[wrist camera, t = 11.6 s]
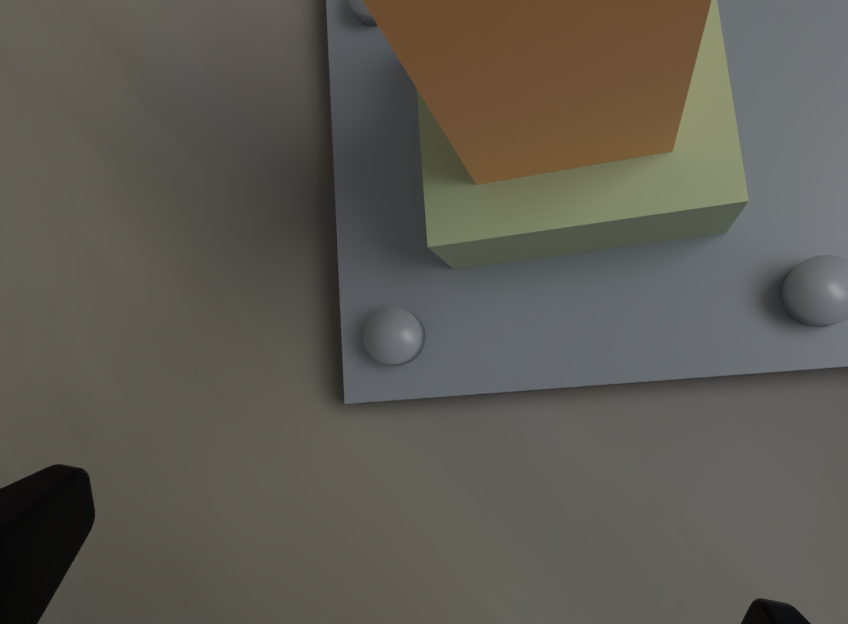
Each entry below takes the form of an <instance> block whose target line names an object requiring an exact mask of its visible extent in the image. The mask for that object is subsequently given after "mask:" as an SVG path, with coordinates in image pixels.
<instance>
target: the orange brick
mask: <svg viewBox="0 0 848 624" xmlns="http://www.w3.org/2000/svg"><path fill="white" fill-rule="evenodd" d="M362 1H363V2H364V4H365V5H366V7H367V9H368V10H369V12H370V13H371V15H372V17H373V18H374V20H375V22H376V23H377V25H378V26H379V28H380V30H381V31H382V33H383V35H384V36H385V38H386V39H387V41H388V43H389V44H390V46H391V47H392V49H393V51H394V52H395V54H396V56H397V57H398V59H399V60H400V62H401V64H402V65H403V67H404V69H405V70H406V72H407V73H408V75H409V77H410V78H411V80H412V81H413V83H414V85H415V86H416V88H417V90H418V91H419V93H420V94H421V96H422V98H423V99H424V101H425V103H426V104H427V106H428V107H429V109H430V111H431V112H432V114H433V115H434V117H435V119H436V120H437V122H438V124H439V125H440V127H441V128H442V130H443V132H444V133H445V135H446V137H447V138H448V140H449V141H450V143H451V145H452V146H453V148H454V149H455V151H456V153H457V154H458V156H459V158H460V159H461V161H462V162H463V164H464V166H465V167H466V169H467V171H468V172H469V174H470V175H471V177H472V179H473V180H474V182H475V183H476V185H479V184H485V183H490V182H496V181H502V180H508V179H514V178H520V177H525V176H531V175H537V174H543V173H549V172H555V171H561V170H566V169H572V168H578V167H584V166H590V165H596V164H601V163H607V162H613V161H619V160H625V159H631V158H636V157H642V156H648V155H654V154H660V153H666V152H671V151H673V149H674V145H675V141H676V137H677V133H678V129H679V125H680V121H681V118H682V114H683V110H684V106H685V102H686V98H687V94H688V90H689V86H690V82H691V79H692V75H693V71H694V67H695V63H696V59H697V55H698V51H699V47H700V43H701V40H702V36H703V32H704V28H705V24H706V20H707V16H708V12H709V8H710V4H711V0H362Z"/></svg>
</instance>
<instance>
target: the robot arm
mask: <svg viewBox="0 0 848 624" xmlns="http://www.w3.org/2000/svg"><path fill="white" fill-rule="evenodd" d="M94 519H95V508H94V502H93V496H92V490H91V484H90V479H89V475H88V473H87V472H86V471H85V470H84V469H82V468H78V467H72V466H67V465H62V464H56V465H52V466H49V467H47V468H45V469H43V470H40V471H38V472H36V473H34V474H32V475H30V476H27V477H25V478H23V479H21V480H19V481H16V482H14V483H12V484H10V485H8V486H5V487H3V488H1V489H0V624H37V623H38V622H39V620H40V618H41V617H42V615H43V613H44V611H45V610H46V608H47V606H48V604H49V603H50V601H51V599H52V597H53V596H54V594H55V592H56V590H57V589H58V587H59V585H60V583H61V582H62V580H63V578H64V576H65V575H66V573H67V571H68V569H69V568H70V566H71V564H72V562H73V561H74V559H75V557H76V555H77V554H78V552H79V550H80V548H81V547H82V545H83V543H84V541H85V540H86V538H87V536H88V534H89V533H90V531H91V529H92V526H93V523H94ZM741 624H811V623H810V622H809V621H808V620H807V619H806V618H805V617H804V616H803V615H802V614H801V613H800V612H799V611H798V610H797V609H795V608H794V607H793V606H791V605H790V604H787V603H783V602H778V601H773V600H768V599H762V598H759V599H756V600H754V601H753V602H752V603H751V605H750V607H749V609H748V611H747V612H746V614H745V616H744V618H743V620H742V622H741Z"/></svg>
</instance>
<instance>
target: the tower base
mask: <svg viewBox="0 0 848 624" xmlns="http://www.w3.org/2000/svg"><path fill="white" fill-rule="evenodd" d="M326 10H327V32H328V54H329V76H330V98H331V120H332V142H333V163H334V185H335V207H336V229H337V251H338V273H339V295H340V317H341V338H342V360H343V382H344V404H362V403H376V402H389V401H403V400H416V399H430V398H443V397H456V396H470V395H483V394H497V393H510V392H524V391H537V390H551V389H564V388H578V387H591V386H605V385H618V384H632V383H645V382H659V381H672V380H686V379H699V378H713V377H726V376H740V375H753V374H766V373H780V372H793V371H807V370H820V369H834V368H847V367H848V0H711V4H710V8H709V12H708V16H707V20H706V24H705V28H704V32H703V36H702V40H701V43H700V47H699V51H698V55H697V59H696V63H695V67H694V71H693V75H692V79H691V82H690V86H689V90H688V94H687V98H686V102H685V106H684V110H683V114H682V118H681V121H680V125H679V129H678V133H677V137H676V141H675V145H674V149H673V151H671V152H666V153H660V154H654V155H648V156H642V157H636V158H631V159H625V160H619V161H613V162H607V163H601V164H596V165H590V166H584V167H578V168H572V169H566V170H561V171H555V172H549V173H543V174H537V175H531V176H525V177H520V178H514V179H508V180H502V181H496V182H490V183H485V184H479V185H476V183H475V182H474V180H473V179H472V177H471V175H470V174H469V172H468V171H467V169H466V167H465V166H464V164H463V162H462V161H461V159H460V158H459V156H458V154H457V153H456V151H455V149H454V148H453V146H452V145H451V143H450V141H449V140H448V138H447V137H446V135H445V133H444V132H443V130H442V128H441V127H440V125H439V124H438V122H437V120H436V119H435V117H434V115H433V114H432V112H431V111H430V109H429V107H428V106H427V104H426V103H425V101H424V99H423V98H422V96H421V94H420V93H419V91H418V90H417V88H416V86H415V85H414V83H413V81H412V80H411V78H410V77H409V75H408V73H407V72H406V70H405V69H404V67H403V65H402V64H401V62H400V60H399V59H398V57H397V56H396V54H395V52H394V51H393V49H392V47H391V46H390V44H389V43H388V41H387V39H386V38H385V36H384V35H383V33H382V31H381V30H380V28H379V26H378V25H377V23H376V22H375V20H374V18H373V17H372V15H371V13H370V12H369V10H368V9H367V7H366V5H365V4H364V2H363V1H362V0H326Z"/></svg>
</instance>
